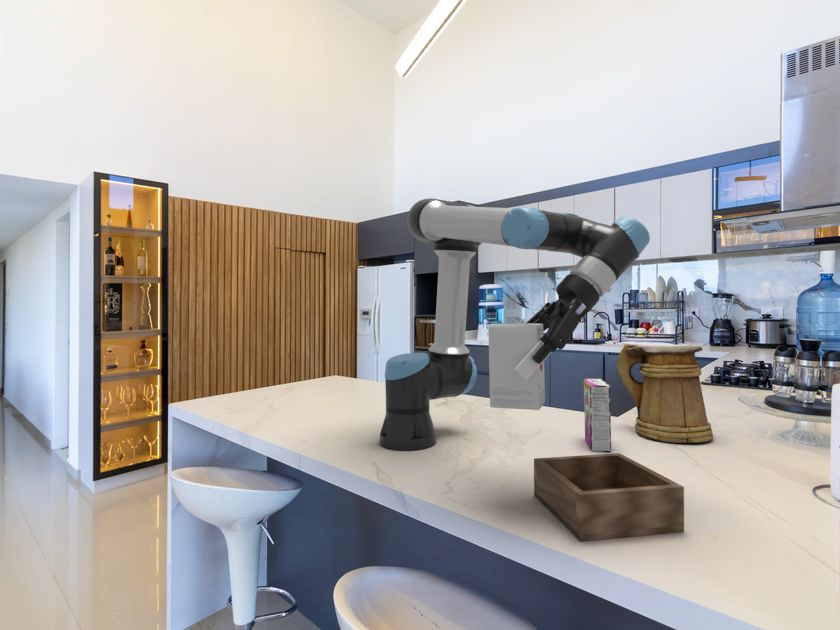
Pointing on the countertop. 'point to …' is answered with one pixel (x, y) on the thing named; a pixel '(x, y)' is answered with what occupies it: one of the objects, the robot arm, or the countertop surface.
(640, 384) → the tankard
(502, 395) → the supplement box
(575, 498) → the crate
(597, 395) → the candy bar box
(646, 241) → the robot arm
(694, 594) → the countertop surface
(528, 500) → the countertop surface
